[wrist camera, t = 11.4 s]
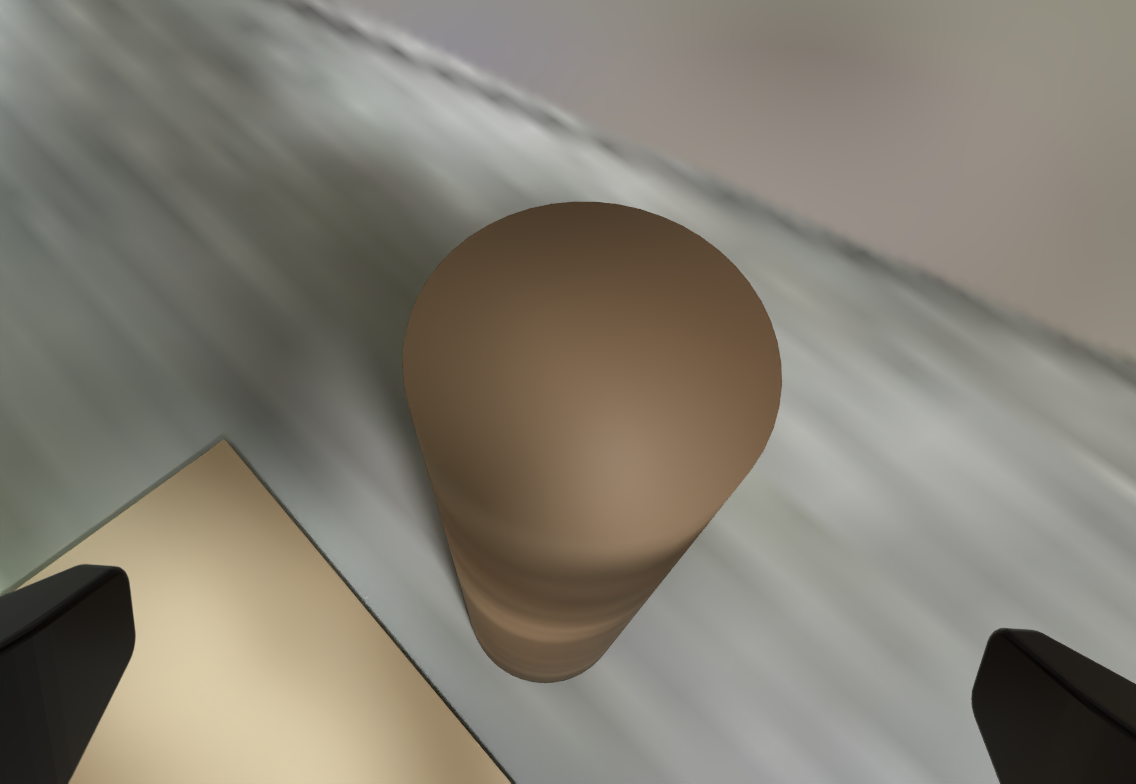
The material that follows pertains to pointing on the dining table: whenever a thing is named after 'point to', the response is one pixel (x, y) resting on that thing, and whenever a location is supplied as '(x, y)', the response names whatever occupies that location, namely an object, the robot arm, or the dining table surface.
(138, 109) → the dining table surface
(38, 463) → the dining table surface
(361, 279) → the dining table surface
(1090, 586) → the dining table surface
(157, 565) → the board
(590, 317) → the peg
